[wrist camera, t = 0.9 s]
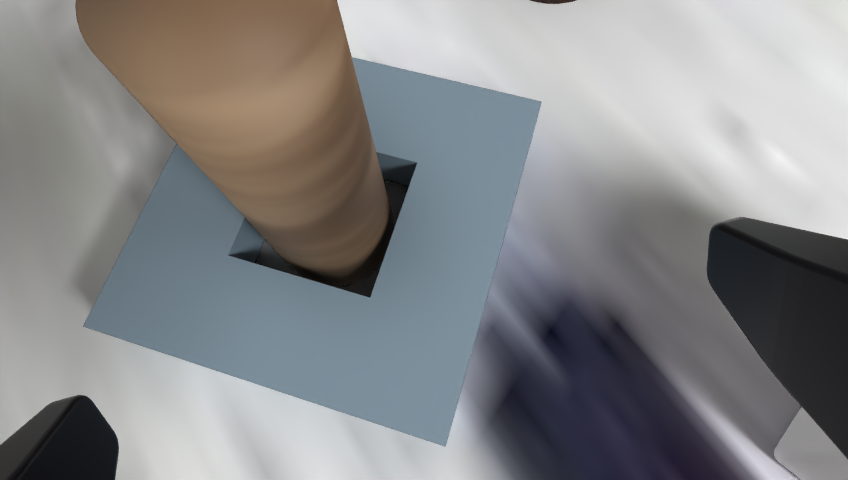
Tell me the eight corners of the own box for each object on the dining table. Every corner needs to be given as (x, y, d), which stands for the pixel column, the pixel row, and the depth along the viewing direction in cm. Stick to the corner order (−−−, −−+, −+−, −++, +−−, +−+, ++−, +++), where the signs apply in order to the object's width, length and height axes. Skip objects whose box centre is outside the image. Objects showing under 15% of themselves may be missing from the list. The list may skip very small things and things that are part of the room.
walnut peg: (372, 300, 23) (268, 114, 10) (262, 267, 24) (28, 52, 11) (409, 194, 25) (361, -88, 11) (305, 167, 25) (146, -130, 12)
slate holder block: (445, 445, 21) (444, 446, 19) (120, 338, 23) (82, 326, 21) (533, 133, 25) (541, 101, 23) (253, 65, 27) (235, 30, 25)
